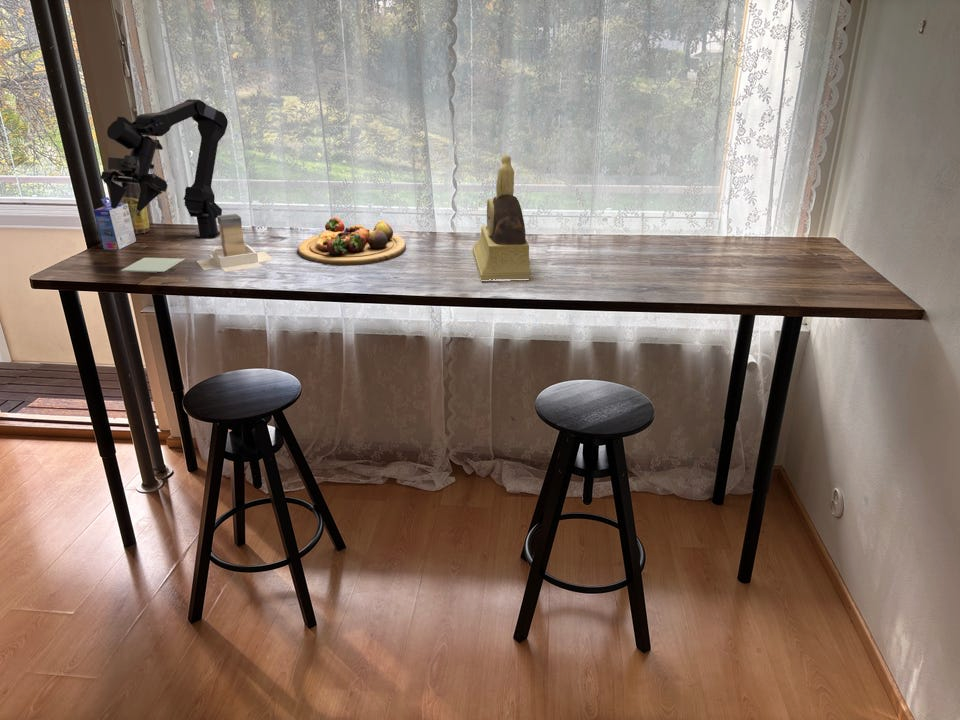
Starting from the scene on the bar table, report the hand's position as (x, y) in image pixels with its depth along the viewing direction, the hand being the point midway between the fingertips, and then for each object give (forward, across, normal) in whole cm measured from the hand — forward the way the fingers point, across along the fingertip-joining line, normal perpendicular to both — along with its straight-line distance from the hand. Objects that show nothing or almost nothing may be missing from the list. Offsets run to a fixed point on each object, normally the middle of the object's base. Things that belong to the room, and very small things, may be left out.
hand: (125, 209), depth 195 cm
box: (+6, +27, +16) cm, 32 cm away
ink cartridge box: (+6, -17, +17) cm, 25 cm away
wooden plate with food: (-6, +51, +36) cm, 63 cm away
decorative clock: (-7, +98, +36) cm, 105 cm away
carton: (+6, +27, +16) cm, 32 cm away
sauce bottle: (-2, -24, +29) cm, 37 cm away
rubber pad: (+13, +8, +7) cm, 17 cm away
